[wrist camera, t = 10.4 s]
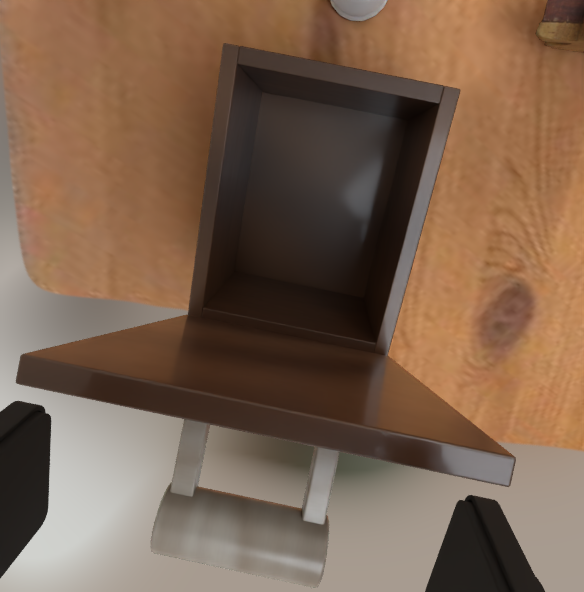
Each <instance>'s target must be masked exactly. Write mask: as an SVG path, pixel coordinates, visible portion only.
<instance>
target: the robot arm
mask: <svg viewBox="0 0 584 592" xmlns="http://www.w3.org/2000/svg"><path fill="white" fill-rule="evenodd" d="M50 438H51V416H50V415H49V414H46V413H45V409H44V407H43V406H40V405H36V404H31V403H26V402H22V401H15V402H13V403H11V404H10V405H9V406H7V407H6V408H5V409H4V410H2V411H1V412H0V578H1V577H2V576H3V574H4V573H5V572H6V571H7V569H8V568H9V567H10V565H11V564H12V563H13V562H14V560H15V559H16V558H17V556H18V555H19V554H20V553H21V551H22V550H23V549H24V547H25V546H26V545H27V544H28V542H29V541H30V540H31V539H32V537H33V536H34V535H35V534H36V532H37V531H38V530H39V528H40V527H41V526H42V524H43V522H44V520H45V518H46V515H47V512H48V495H49V467H50V466H49V465H50ZM425 592H545V591H544V588H543V586H542V585H541V583H540V582H539V580H538V579H537V577H535V575H534V573H533V571H532V569H531V567H530V565H529V563H528V561H527V559H526V557H525V555H524V553H523V551H522V549H521V547H520V545H519V543H518V541H517V539H516V537H515V535H514V533H513V531H512V529H511V527H510V525H509V523H508V521H507V519H506V517H505V515H504V514H503V511H502V509H501V507H500V505H499V504H498V502H497V501H495V500H492V499H487V498H482V497H478V496H473V495H469V496H467V497H466V499H465V501H463V500H459V501H458V502H457V504H456V507H455V509H454V512H453V515H452V518H451V521H450V524H449V526H448V529H447V532H446V535H445V538H444V540H443V543H442V546H441V549H440V551H439V554H438V557H437V560H436V562H435V565H434V568H433V571H432V573H431V576H430V579H429V582H428V584H427V587H426V591H425Z"/></svg>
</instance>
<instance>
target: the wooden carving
mask: <svg viewBox="0 0 584 592" xmlns="http://www.w3.org/2000/svg"><path fill="white" fill-rule="evenodd" d="M536 35H537V37H538V38H539V39H540V40H542V41H545V45H546V46H549V47H553V48H558V49H565V50H572V51H579V52H584V0H548V1H547V5H546V9H545V14H544V18H543V20H542V22H541V23H540V24H539V25H538V28H537V31H536Z"/></svg>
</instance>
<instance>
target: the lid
mask: <svg viewBox="0 0 584 592" xmlns="http://www.w3.org/2000/svg"><path fill="white" fill-rule="evenodd" d="M16 383H17V384H20V385H25V386H29V387H34V388H39V389H44V390H49V391H53V392H58V393H63V394H67V395H72V396H77V397H82V398H87V399H92V400H96V401H101V402H106V403H111V404H115V405H120V406H125V407H129V408H134V409H139V410H144V411H149V412H153V413H159V414H163V415H167V416H172V417H177V418H182V419H184V424H183V429H182V434H181V439H180V444H179V449H178V454H177V459H176V464H175V469H174V474H173V479H172V482H171V483H170V485H169V486H168V488H167V489H166V491H165V493H164V496H163V498H162V500H161V503H160V506H159V509H158V512H157V515H156V519H155V522H154V526H153V531H152V537H151V551H152V552H153V553H155V554H160V555H164V556H169V557H174V558H179V559H183V560H188V561H192V562H197V563H202V564H206V565H211V566H216V567H220V568H225V569H229V570H234V571H239V572H244V573H248V574H253V575H258V576H262V577H267V578H271V579H276V580H281V581H285V582H290V583H294V584H299V585H304V586H309V587H313V588H316V587H318V586H319V584H320V582H321V579H322V576H323V572H324V567H325V562H326V555H327V548H328V538H329V520H328V516H327V515H326V514H327V509H328V505H329V500H330V495H331V490H332V485H333V481H334V476H335V471H336V466H337V462H338V457H339V452H344V453H348V454H353V455H358V456H363V457H368V458H372V459H377V460H382V461H386V462H392V463H396V464H401V465H406V466H410V467H415V468H420V469H425V470H429V471H434V472H439V473H444V474H449V475H453V476H458V477H463V478H468V479H472V480H477V481H482V482H487V483H491V484H496V485H501V486H506V487H509V486H510V484H511V480H512V475H513V471H514V466H515V461H516V458H515V457H514V456H513V455H512V454H511V453H509V452H508V451H507V450H505V449H504V448H503V447H502V446H501V445H499V444H498V443H497V442H495V441H494V440H493V439H492V438H490V437H489V436H488V435H487V434H485V433H484V432H483V431H482V430H480V429H479V428H478V427H477V426H475V425H474V424H473V423H472V422H470V421H469V420H468V419H467V418H465V417H464V416H463V415H462V414H460V413H459V412H458V411H457V410H455V409H454V408H453V407H452V406H450V405H449V404H448V403H447V402H445V401H444V400H443V399H441V398H440V397H439V396H438V395H436V394H435V393H434V392H433V391H431V390H430V389H429V388H428V387H426V386H425V385H424V384H423V383H421V382H420V381H419V380H418V379H416V378H415V377H414V376H413V375H411V374H410V373H409V372H408V371H406V370H405V369H404V368H403V367H401V366H400V365H399V364H398V363H396V362H395V361H394V360H393V359H391V358H390V357H389V356H386V355H381V354H376V353H371V352H366V351H361V350H356V349H352V348H347V347H342V346H337V345H332V344H327V343H322V342H318V341H313V340H308V339H303V338H298V337H293V336H288V335H284V334H279V333H274V332H269V331H264V330H259V329H255V328H250V327H245V326H240V325H235V324H230V323H225V322H221V321H216V320H211V319H206V318H201V317H196V316H191V315H183V316H179V317H175V318H171V319H167V320H163V321H158V322H154V323H151V324H146V325H142V326H138V327H134V328H130V329H125V330H121V331H117V332H113V333H109V334H104V335H101V336H96V337H92V338H88V339H84V340H79V341H75V342H71V343H67V344H63V345H59V346H55V347H50V348H46V349H42V350H38V351H34V352H30V353H25V354H22V355H21V357H20V362H19V367H18V372H17V377H16ZM210 425H216V426H220V427H225V428H230V429H234V430H239V431H244V432H248V433H253V434H258V435H263V436H268V437H272V438H278V439H282V440H287V441H291V442H296V443H301V444H306V445H310V446H315V448H314V452H313V457H312V462H311V467H310V471H309V476H308V481H307V486H306V491H305V496H304V500H303V505H302V509H301V508H296V507H291V506H287V505H282V504H278V503H273V502H268V501H263V500H259V499H254V498H249V497H244V496H240V495H235V494H231V493H226V492H221V491H216V490H212V489H207V488H202V487H198V482H199V477H200V472H201V467H202V462H203V458H204V452H205V448H206V443H207V438H208V433H209V428H210Z"/></svg>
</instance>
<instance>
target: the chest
mask: <svg viewBox="0 0 584 592" xmlns="http://www.w3.org/2000/svg"><path fill="white" fill-rule="evenodd" d="M459 94H460V89H458V88H452V87H447V86H443V85H438V84H432V83H427V82H422V81H417V80H412V79H407V78H402V77H397V76H392V75H386V74H381V73H376V72H371V71H366V70H361V69H356V68H351V67H346V66H340V65H335V64H330V63H325V62H320V61H315V60H310V59H305V58H299V57H294V56H289V55H284V54H279V53H274V52H269V51H264V50H259V49H253V48H248V47H243V46H240V47H239V46H237V45H232V44H227V43H224V44H223V49H222V57H221V65H220V72H219V80H218V88H217V95H216V103H215V111H214V118H213V126H212V134H211V141H210V149H209V157H208V164H207V172H206V180H205V187H204V195H203V203H202V210H201V218H200V226H199V233H198V241H197V249H196V256H195V264H194V272H193V279H192V287H191V295H190V302H189V310H188V315H191V316H196V317H201V318H206V319H211V320H216V321H221V322H225V323H230V324H235V325H240V326H245V327H250V328H255V329H259V330H264V331H269V332H274V333H279V334H284V335H288V336H293V337H298V338H303V339H308V340H313V341H318V342H322V343H327V344H332V345H337V346H342V347H347V348H352V349H356V350H361V351H366V352H371V353H376V354H381V355H386V356H388V352H389V349H390V345H391V341H392V338H393V334H394V330H395V327H396V323H397V320H398V316H399V312H400V309H401V305H402V301H403V298H404V294H405V290H406V287H407V283H408V280H409V276H410V272H411V269H412V265H413V261H414V258H415V254H416V250H417V247H418V243H419V240H420V236H421V232H422V229H423V225H424V221H425V218H426V214H427V210H428V207H429V203H430V200H431V196H432V192H433V189H434V185H435V181H436V178H437V174H438V171H439V167H440V163H441V160H442V156H443V152H444V149H445V145H446V141H447V138H448V134H449V131H450V127H451V123H452V120H453V116H454V112H455V109H456V105H457V101H458V98H459Z"/></svg>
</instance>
